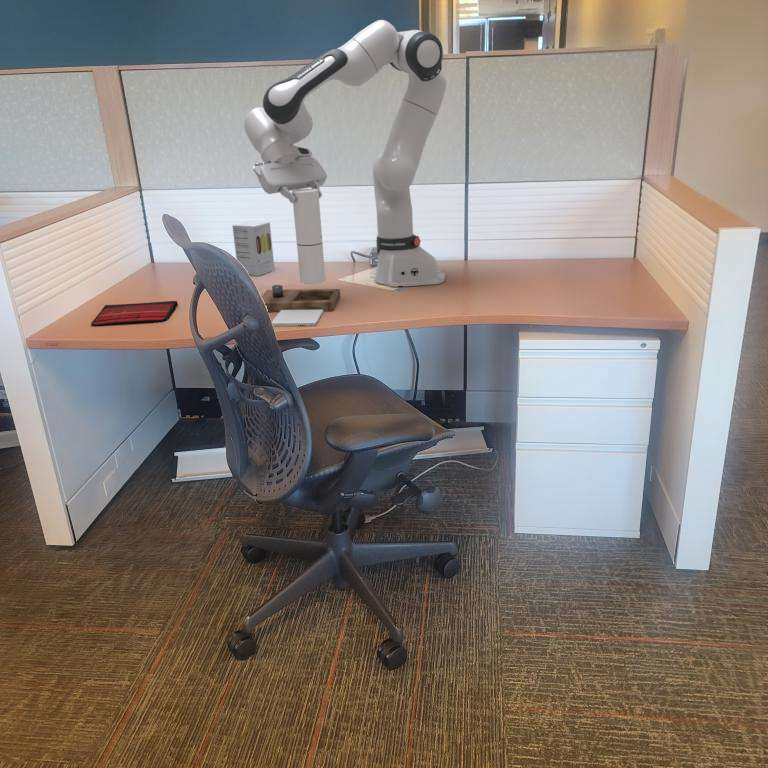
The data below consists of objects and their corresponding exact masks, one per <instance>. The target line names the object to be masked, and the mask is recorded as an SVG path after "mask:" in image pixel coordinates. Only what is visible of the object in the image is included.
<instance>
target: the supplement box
mask: <svg viewBox="0 0 768 768" xmlns="http://www.w3.org/2000/svg"><path fill="white" fill-rule="evenodd" d="M231 228H232V235H233V241H234V251H235V256H236V257H235V258H236V259H237V260H238V261H239V262H240V263H241V264H242V265H243V266H244V267H245V269H246V270H247V271H248V273H249V274H250V275H249V276H253V277H259V276H263V275H265V274H268V273H271V272H273V270H274V271H276V270H275V261H274V250H273V241H272V231H271V223H270V221H257V220H247V221H245V222H241V223H236V224H233V225H232V227H231ZM237 260H236V261H237Z"/></svg>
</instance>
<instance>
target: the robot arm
mask: <svg viewBox="0 0 768 768" xmlns="http://www.w3.org/2000/svg"><path fill="white" fill-rule="evenodd" d="M441 42H442V41H441V40H440V39H439V37H437V36H436V35H435V34H434V33H432V32H429V31H427V30H426V31H425V30H420V29H410V30H398V31H397V30H396V27H395V26H394V25H393V24H391V22H388V21H387V20H385V19H378V20H376V21H374V22H372V23H371V24H369V25H367V26H365V28H363V29H362V30H360V31H359V32H357V33H356V34H355V35H354V36H353V37H352V38H350V39H349V40H348V41H347V42H345V43H344V44H343V45H340V47H337V48H332V49H329V50H327V51H325V52H324V53H322V54H320V55H318V56H317V57H316V58H315V59H313V60H311V62H309V63H308V64H306V65H305V66H303V67H302V68H300V69H299V70H298V71H296V72H295V73H293V74H292V75H290V76H288V77H287V78H284V79H283V80H280V81H277V82H275V83H274V84H271V86H270V87H269V88H268V89H267V90H266V91H265V93H264V95H263V99H262V107H260V106H257V107H255V108H253V109H250V111H249V112H248V113H247V114H246V116H245V118H244V123H243V124H244V125H243V127H244V131H245V134H246V136H247V138H248V139H249V142H250V143H251V145H252V146H253V148H254V150H255V151H256V152H257V153H259V154H260V157H261V160H262V162H256V163H255V164H254V165H253V167H252V170H253V172H254V174H255V175H256V176H257V180H258V182H259V184H260V186H261V188H262V190H263V191H264V193H266V194H268V195H271V194H272V195H273V194H278V193H280V195H281V196H282V197H284V198H286V199H288V201H289V202H290V204H293V203H295V202H297V200H298V198H297V197H296V195H295V194H292V191H293V190H299V189H318V193H319V199H321V197H322V196H323V193H322V191H321V190H320V187H321V186H323V185H324V184H325V183H326V180H327V178H328V177H327V176H328V175H327V172H326V170H325V169H324V167H323V166H322V164H321V163H320V162H319V161H318V160H317V158H315V157H314V156H312V155H313V152H312V151H311V149H309V148H306V147H302V146H301V147H300V146H297V145H295V144H297V143H299V142H300V141H302V140H304V139H305V138H307V137H308V136H309V135H310V132H311V131H312V129H313V118H312V116H311V114H310V112H309V110H308V109H307V107H306V105H305V100H306V98H307V97H308V96H309V95H311V94H312V93H313V92H315V91H316V90H317V89H319V88H320V87H321V86H323V85H324V84H327V82H330V81H332V80H337V81H339V82H341V83H343V84H345V85H347V86H350V87H360V86H362V85H364V84H365V83H367V82H368V81H370V80H371V79H372V78H374V76H375V75H377V74H378V73H380V71H381V70H382V69H383V68H384V67H385V66H387V65H388V64H390V66H391V67H393V68H394V69H395V70H397V71H400V72H403V73H407V74H408V75H407V76H408V84H407V89H406V91H405V94H404V96H403V98H402V100H401V102H400V105H399V108H398V110H397V113H396V115H395V118H394V120H393V122H392V125H391V126H390V127H391V128H390V132H389V136H388V139H387V142H386V145H385V147H384V151H383V152H381V153H380V154H378V155H377V156H376V158H375V159H374V161H373V165H372V179H373V188H374V189H373V190H374V199H375V200H374V201H375V208H376V221H377V223H376V227H377V236H376V239H375V240H376V242H375V245H376V253H377V266H376V272H375V277H374V281H375V282H376V283H378V284H381V285H385V286H389V287H393V288H398V286H403V287H414V286H428V285H440V284H442V283H443V282H444V281H445V280H446V275H445V273H444V272H443V271H441V270H439V267H438V263H437V260H436V258H435V257H434V256H433V255H432V254H430V253H429V252H428V251H426V250H425V249H424V248H422V247H421V239H420V237H419V235H416V234H414V227H413V226H414V225H413V221H414V220H413V205H412V199H411V198H412V197H411V192H410V191H411V190H410V187H411V185H412V184H413V183H414V179H415V176H416V173H417V170H418V168H419V165H420V162H421V159H422V155H423V152H424V149H425V146H426V142H427V140H428V137H429V136H430V133H431V130H432V128H433V126H434V123H435V121H436V119H437V117H438V115H439V112H440V109H441V106H442V103H443V100H444V96H445V92H446V88H447V80H446V77H445V76H444V74H443V73H442V72H441V71H442V69H443V66H442V62H443V55H444V53H443V52H444V50H443V49H444V48H443V46H442V43H441Z"/></svg>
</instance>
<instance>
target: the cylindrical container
mask: <svg viewBox="0 0 768 768" xmlns="http://www.w3.org/2000/svg"><path fill="white" fill-rule="evenodd" d="M291 193H292V194H295V195H296V197H297V198H298V200H297V202H295V203H292V207H293V217H294V227H295V230H294V231H295V238H296V247H297V248H296V249H297V260H298V269H299V271H298V272H299V279H300V280H299V281H300V283H301V284H304V285H314V284H321V283H324V282H326V272H325V271H326V269H325V260H324V259H325V255H324V245H323V244H324V243H323V234H322V219H321V209H320V208H321V207H320V198H319V193H318V189H312V188H304V189H298V190H291Z"/></svg>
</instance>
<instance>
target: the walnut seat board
mask: <svg viewBox="0 0 768 768" xmlns="http://www.w3.org/2000/svg"><path fill="white" fill-rule="evenodd" d="M261 297H262V298H263V300H264V302H265V305H266V306H267V309H268V311H269V312H268V313H277V312H278V311H279V312H280V311H281V310H320V309H323V311H324V312H334V310H335V308H336V306H337V305H338V303H337V302H339V301H340V298H341V289H340V288H316V289H313V288H312V289H307V288H306V289H304V288H303V289H284V288H283V285H282V284H275V285H272V286H271V289H267V290H266V291H265V292H264V293H263V294H262V295H261ZM302 299H304V300H302ZM336 304H337V305H336ZM274 311H275V312H274ZM279 312H278V313H279Z"/></svg>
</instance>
